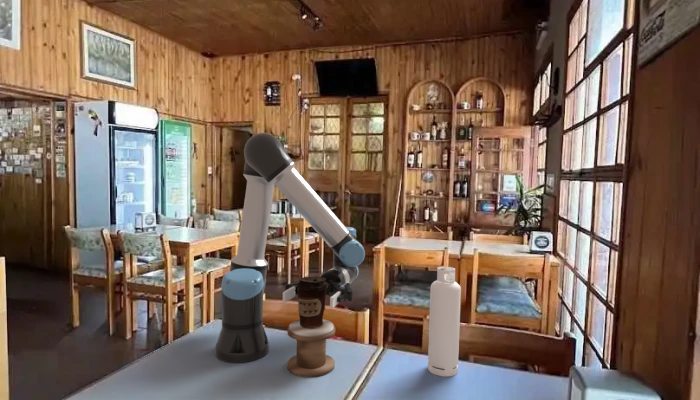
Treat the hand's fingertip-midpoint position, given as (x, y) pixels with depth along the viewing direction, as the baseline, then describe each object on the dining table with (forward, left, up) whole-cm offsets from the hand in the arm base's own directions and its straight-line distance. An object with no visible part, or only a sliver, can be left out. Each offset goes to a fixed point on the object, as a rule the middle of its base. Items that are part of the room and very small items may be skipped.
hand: (307, 300), depth 114 cm
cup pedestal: (-1, +3, -19) cm, 20 cm away
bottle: (+26, +27, -19) cm, 42 cm away
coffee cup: (-1, +3, -8) cm, 9 cm away
